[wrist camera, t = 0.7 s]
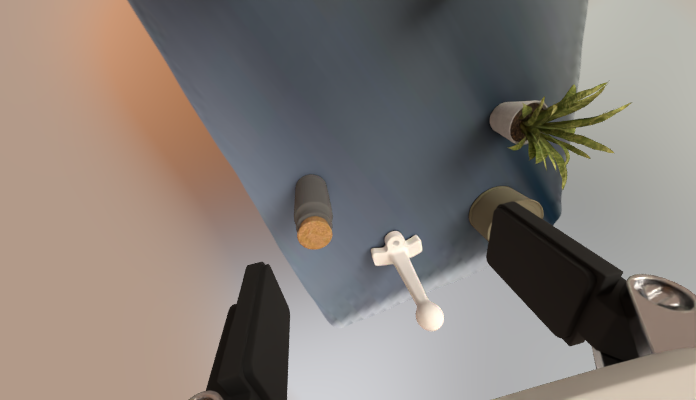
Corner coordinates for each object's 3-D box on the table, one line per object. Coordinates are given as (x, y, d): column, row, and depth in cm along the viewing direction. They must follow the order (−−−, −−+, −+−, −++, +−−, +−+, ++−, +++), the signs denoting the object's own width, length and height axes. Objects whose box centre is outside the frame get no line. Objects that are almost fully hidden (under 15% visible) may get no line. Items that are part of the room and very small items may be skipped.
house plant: (535, 147, 50) (626, 179, 36) (470, 167, 50) (537, 207, 36) (544, 70, 43) (663, 72, 29) (469, 93, 43) (552, 107, 29)
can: (502, 232, 60) (524, 250, 54) (459, 229, 58) (478, 248, 52) (527, 188, 55) (554, 202, 49) (481, 182, 52) (504, 196, 46)
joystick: (373, 262, 58) (404, 346, 41) (367, 237, 54) (397, 318, 37) (418, 248, 58) (468, 325, 41) (415, 222, 55) (468, 296, 37)
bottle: (312, 207, 49) (316, 259, 36) (288, 189, 46) (283, 238, 33) (333, 187, 47) (345, 233, 34) (310, 167, 45) (313, 209, 32)
